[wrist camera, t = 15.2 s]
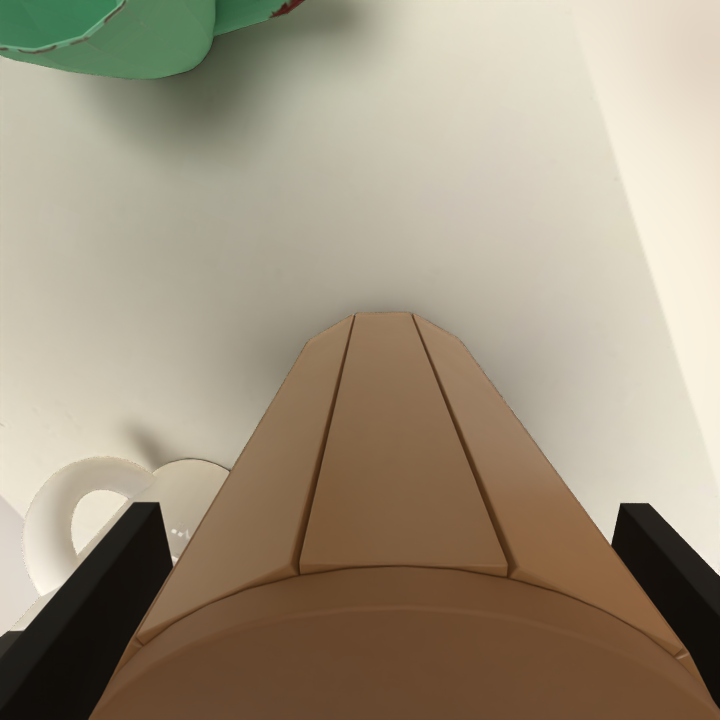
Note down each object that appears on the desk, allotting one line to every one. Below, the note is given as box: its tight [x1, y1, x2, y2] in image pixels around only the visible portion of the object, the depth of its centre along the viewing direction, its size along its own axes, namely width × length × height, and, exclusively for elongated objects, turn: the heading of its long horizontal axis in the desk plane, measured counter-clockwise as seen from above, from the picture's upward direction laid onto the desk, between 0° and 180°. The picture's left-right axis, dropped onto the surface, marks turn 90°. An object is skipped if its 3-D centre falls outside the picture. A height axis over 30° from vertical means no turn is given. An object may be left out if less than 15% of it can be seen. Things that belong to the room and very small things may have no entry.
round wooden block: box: [88, 312, 720, 720], centre depth 14 cm, size 10×10×16 cm
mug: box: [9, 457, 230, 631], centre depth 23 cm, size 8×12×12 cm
